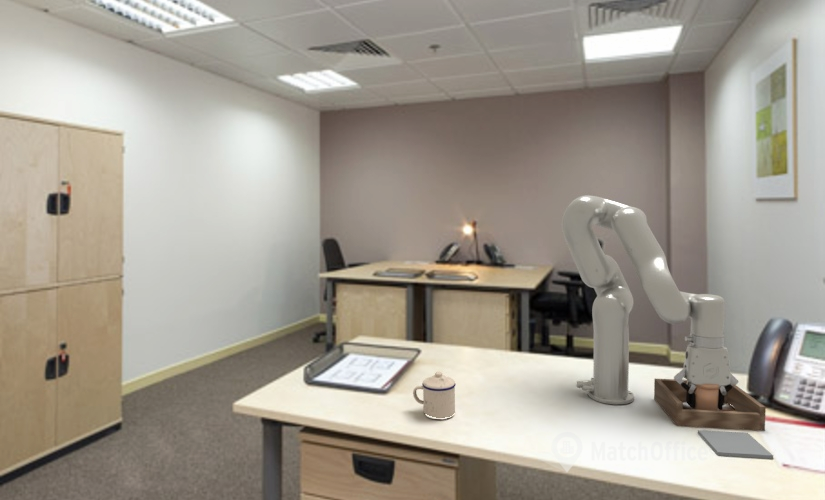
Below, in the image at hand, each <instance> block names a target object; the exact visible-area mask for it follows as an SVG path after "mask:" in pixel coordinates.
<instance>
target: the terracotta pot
mask: <svg viewBox="0 0 825 500" xmlns="http://www.w3.org/2000/svg"><path fill="white" fill-rule="evenodd" d="M695 386H696V388H695V390H694V394H695V408H694V409H693V408H691V410H712V411H719V409H718V397H719V389H720V388H721V386H719V385H715V384H702V385H695Z"/></svg>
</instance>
